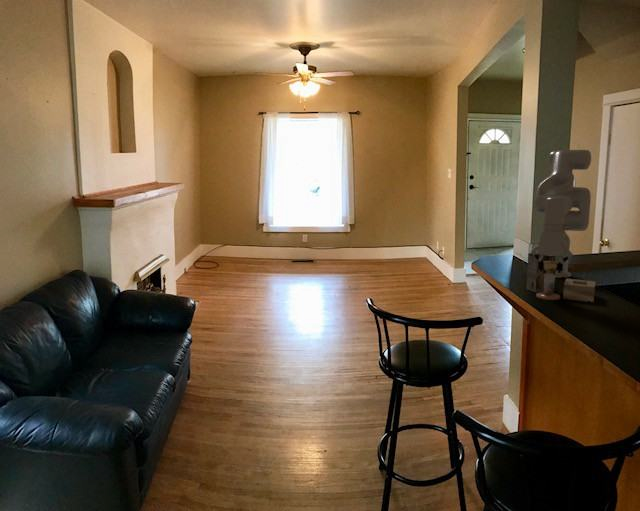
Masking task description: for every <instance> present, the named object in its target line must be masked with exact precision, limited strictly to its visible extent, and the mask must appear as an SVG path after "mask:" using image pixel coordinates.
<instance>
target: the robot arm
mask: <svg viewBox="0 0 640 511" xmlns="http://www.w3.org/2000/svg"><path fill="white" fill-rule="evenodd" d="M591 162H592V153H591V151H590V150H588V149H560V150H553V151H551V152H549V154H548V164H549V167H550V174H549V176H548V177H547V178H545V179H544V180H542V182H541V183H540V184H539V185H538V187H537V188H536V190H535V195H534V201H533V207H534V210H535V212H537V213H539V214H543V226H542V227H543V228H542V230H541V231H540V234H539V240H538V245H537V246H536V247H535V248H533V249H532V250H531V251H530V253H532V254H533V255H534V256H535V258H536V259H537V260H538V261H539V266H538V269H540V271H542V266H543V261H542V258H543V257H544V256H555V261H556V262H559V267H558V271H556V272H555V278H558V279H559V278H560V279H561V278H562V277H564V278H562V279H566V278H570V277H571V276H572V273H571V272H569V270H568V268H569V259H571V258H572V257H573V255H574V253H573V252H572V251H570V246H571V240H570V237H569V235H568V233H567V231H570V232H571V231H572V232H584V231H586V230H587V229H588V227H589V223H590V213H591V212H590V210H591V198H592V197H591V196H592V195H591V191H590V189H589V188H587V187H583V186H580V187H579V186H578V187H577V186H575V184H574V183H575V176H574V173H573V171H574V170H576V171H577V170H579V171H580V170H581V171H582V170H588V169H589V167H590V166H591ZM551 191H552V194H547V193H549V192H551ZM572 208H577V209H578V210H572ZM536 253H538V254H540V256H539V255H538V254H536ZM565 277H566V278H565Z"/></svg>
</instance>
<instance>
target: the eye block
mask: <svg viewBox="0 0 640 511" xmlns="http://www.w3.org/2000/svg"><path fill="white" fill-rule="evenodd" d="M595 290H596V281H594V280H583V279H572V278H565V281H564V284H563V293H562V294H563V295H562V299H564V300H571V301H579V302H588V301H590V302H589V303H594V300H595Z"/></svg>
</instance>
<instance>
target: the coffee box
mask: <svg viewBox="0 0 640 511" xmlns="http://www.w3.org/2000/svg"><path fill="white" fill-rule="evenodd" d="M536 254H538V252H536ZM527 255H528V256H527V271H526V290H529V291H531V292H533V293H539V292H543V288H544V275H545V270H543V269H542V271H540V269H538V266H539V261H538V260H537V259H536V258H535V256H534V255H533V254H532V253H531V252H530V253H527ZM538 255H539V256H540V254H538ZM542 261H555V256H544V257H543V258H542Z"/></svg>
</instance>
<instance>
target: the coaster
mask: <svg viewBox="0 0 640 511" xmlns="http://www.w3.org/2000/svg"><path fill="white" fill-rule="evenodd" d="M535 294H536V295H535V296H536V298H538V299H541V300H545V301H559V300H560V299H561V295H560V294H559V293H555V292H554V294H544V293H543V292H536V293H535Z"/></svg>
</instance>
